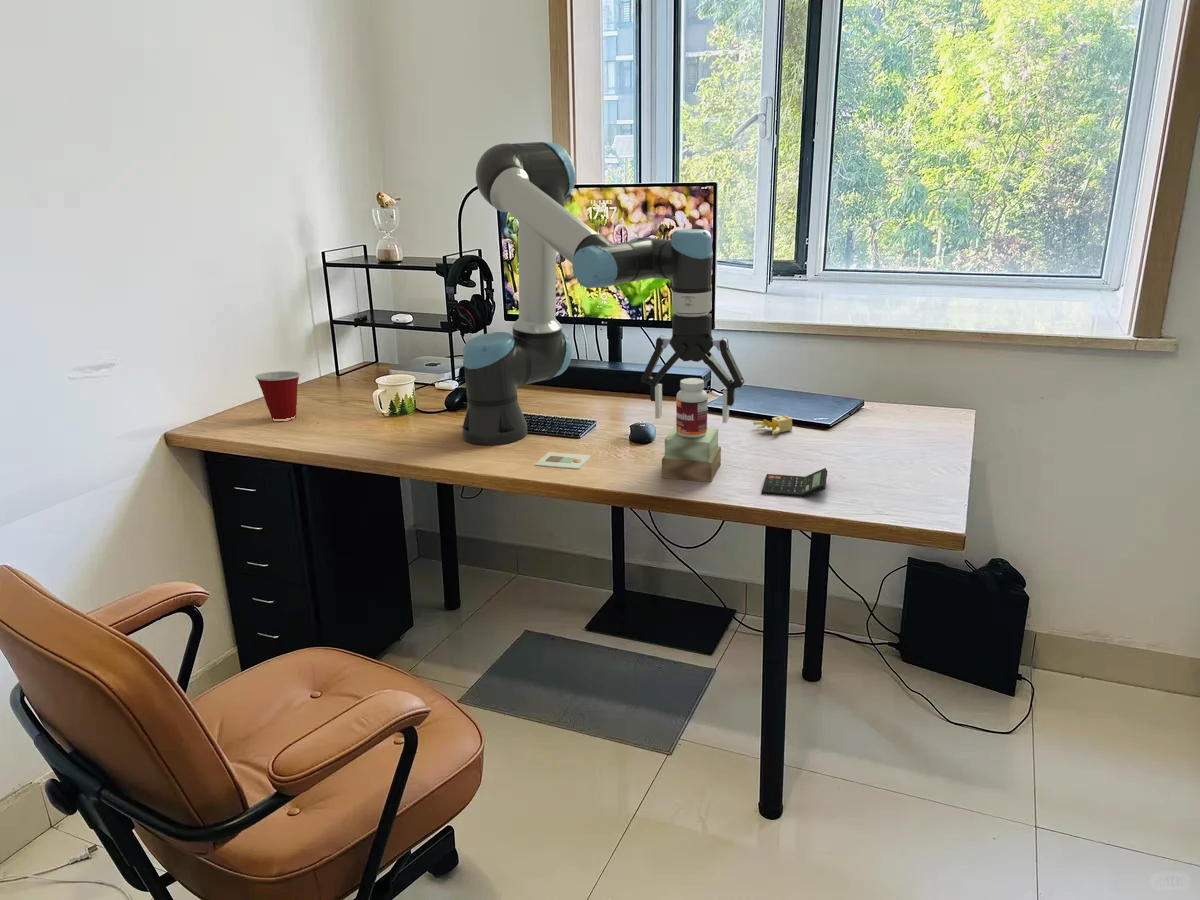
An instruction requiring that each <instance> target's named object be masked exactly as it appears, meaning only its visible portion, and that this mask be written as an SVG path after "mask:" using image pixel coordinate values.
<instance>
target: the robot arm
mask: <svg viewBox="0 0 1200 900" xmlns="http://www.w3.org/2000/svg"><path fill="white" fill-rule="evenodd" d="M475 182H476V186H477V189H478V191H479V193H480V195H481V196H482V197H483V198H484V200H485V201H486V202H488V203H489V205H491V206H492V207H493V208H495V210H497V211H498V212H502V213H509V215H511V216H512V217H514V218H515V219H516V220H517V221H518V319H517V320H515V321H514V322H513V324H512V334H511V333H510V332H505V331H495V332H492V333H490V332H489V333H488V332H487V333H483V334H479V335H476V336H475V337H472V338H470V339H469V340H467V341H466V342H465V344H464V345H463V348H462V349H463V350H462V351H463V353H462V354H463V356H462V358H463V359H462V364H463V369H464V378H465V379H464V380H465V389H466V390H465V391H466V401H467V407H466V412H465V416H464V419H463V425H462V438H463V440H465V442H468V443H470V444H474V445H482V446H489V445H490V446H493V445H495V446H496V445H504V444H509V443H514V442H517V441H519V440H521V439H523V438H525V437H526V436H527V435H528V424H527V420H526V419H525V415H524V414H523V411H522V409H521V406H520V403H519V400H518V399H519V397H518V387H520V386H524V385H528V384H529V385H530V384H534V383H536V382H542V381H548V380H550V379H553V378H555V377H559V376H560V375H562V374H563V373H564V372H565V371H566V370H567V369H568V367H569V365H570V363H571V359H572V354H573V353H572V351H573V350H572V343H571V341H570V340H569V339H570V338H569V336H568V334H567V333H566V332H565V331H564V330H563V327H562V324H561V323H560V322H559V320H557V318H556V312H557V311H556V308H557V306H556V305H557V303H556V301H557V296H556V295H557V293H556V292H557V289H556V288H557V253H558V254H559V255H560V256H562V257H563V258H565V260H567V261H568V262H569V263H571V264H572V266H571V267H572V273H573V276H574V277H575V278H576V282H577V283H578V284H579V285H581V286H582V287H583V288H586V289H593V288H597V289H603V288H606V287H610V286H615V285H619V284H620V285H621V284H624V283H625V284H626V283H634V282H638V281H643V280H649V279H661V280H662V279H663V280H669V281H670V280H671V294H672V295H671V296H672V297H671V298H672V299H671V303H672V306H671V309H672V312H673V315H672V319H671V322H672V323H671V324H672V328H671V329H672V331H671V332H672V335H671V337H666V336H665V335H660V336H658V337H657V338H656V340H655V348H654V351H653V352H652V354H651V357H650V359H649V361H648V363H647V366H646V367H645V370H644V371H643V373H642V376H641V378H640V382H641V383H643V384H644V383H645V384H646V385H649V393H650V397H649V398H650V402H654V405H655V406H654V410H655V411H654V414H655V415H654V418H655V419H661V418H662V416H663V383H659V382H660V380H662V378H663V377H664V376H665V375H666V373H667V372H668V371H669V370H670V369H671V368H672V367H673V366H674V364H675V363H676V362H677V361H678V360H679V359H680V360H682V362H689V361H692V362H695V363H698V362H700V361H702V362H703V363H704V364H706V365H707V367H708V368H710V370H711V371H712V372H713V374H714V375H715V377H717V378H718V379H719V381H720V382H721V383H722V385H723V386H724V389H723V390H722V423H723V424H727V422H728V421H729V419H730V406H733V405H734V404H735V392H736V391H735V390H736V389H737V388H740V389H741V388H742V386H743V385H744V383H745V379H744V377H743V375H742V373H741V370H740V369H739V366H738V364H737V362H736V360H735V359H734V357H733V354H732V353H731V351H730V348H729V339H728V338H727V337H725V336H724V337H722V338H717V339H714V338H713V335H712V324H713V323H712V319H713V318H712V317H713V316H712V314H711V313H710V312H711V311H712V309H713V307H712V306H713V304H712V303H713V302H712V301H713V299H712V298H713V290H712V287H713V286H712V275H713V274H712V272H713V256H714V252H713V242H712V241H713V240H712V235H711V232H710V231H709V230H707V229H700V228H698V229H697V228H695V229H693V228H692V229H691V228H687V229H678V230H677V229H676V230H674V231H673V232H672V234H671V239H665V238H652V237H650V236H649V237H648V236H646V237H635V238H632V239H630V240H629V241H624V242H617V243H613V242H610V241H609V240H608V239H606V238H604V237H603V236H602V235H600V234H599V233H597V232H596V230H594V229H592V228H591V227H590V226H589V225H587V223H585V222H583V221H582V220H581V219H579V218H578V216H575V215H574V214H573V213H571V212H570V211H569V210H568V209H567V208H565V207H564V206H565V205H564V204H565V197H567V196H568V195H570V194H571V192H572V190H573V189H574V188H575V185H576V184H575V183H576V170H575V165H574V162H573V160H572V157H571V156H570V155H569V154H568V151H567V150H566V149H565V148H564V147H563V146H562V145H560V144H559V143H553V142H544V141H536V142H533V141H532V142H520V143H518V142H517V143H515V142H514V143H507V142H506V143H499V144H496V145H493V146H491V147H489V148H488V149H487V150H486V151H484V152H483V154H482V155H481V156H480V158H479V160H478V162H477V166H476V168H475ZM668 345H670V346H671V348H672V349H673V351H674V353H673V354H672V355H671V357H670V358H669V359H668V360H667V361H666V363H665V364H663V366H662V367H661V368H660V369H659V370H658V372H657V373H656V374H654V376H652V374H653V372H654V370H655V368H656V365H657V364H658V361H659V359H660V358H661V356H662V353H663V351H664V349H666V348H667V347H668ZM713 347H715V348H716V349H717V351H719V352H720V355H721V356H722V359H723V362H724V363H725V365H726V368H727V369H728V370H727V371H729V373H730V375H731V377H730V375H729V374H728V372H726V370H725V369H724V368H723V367H722V365H721V364H720V363H719V362H718V361H717V360H716V358H715V356H714V355H713V353H712V352H711V349H712V348H713Z"/></svg>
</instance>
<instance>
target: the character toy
mask: <svg viewBox="0 0 1200 900" xmlns="http://www.w3.org/2000/svg"><path fill="white" fill-rule="evenodd" d="M771 419H772V420H771V421H770V420H767V419H765V418H764V419H763V420H753V425H755V426H756V425H757V426H756V428H757V429H764V428H767V429H769V428H771V429H772V431H771V434H772V435H777V434H778V433H783V432H788V431H792V430H793V418H792V417H790V416H788V415H783V416H782V415H781V416H777V417H771ZM759 425H760V426H759Z"/></svg>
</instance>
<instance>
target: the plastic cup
mask: <svg viewBox="0 0 1200 900" xmlns="http://www.w3.org/2000/svg"><path fill="white" fill-rule="evenodd" d="M300 376H301V373H300V372H299V371H292V370H289V371H288V370H287V371H286V370H283V371H279V370H278V371H268V372H267V371H266V372H261V373H259V374H256V375H255V379H256V380H257V382H258V385H259V387H260V389H261V392H262V395H263V398H264V400H265V401H264V402H265V403H266V407H267V409H268V410H269V414H270V417H271V419H272V418H274V419H286V418H291V417H294V416H295V415H296V416H297V405H298V385H299V379H300Z"/></svg>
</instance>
